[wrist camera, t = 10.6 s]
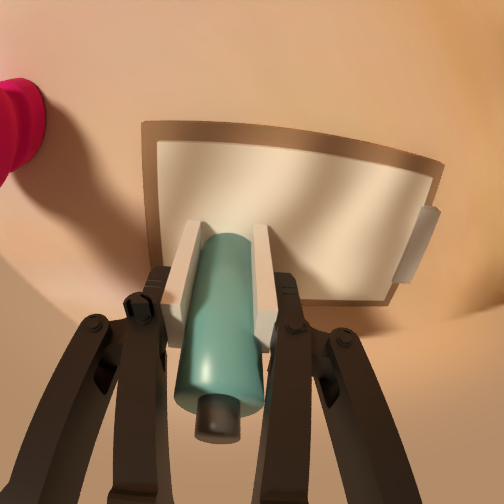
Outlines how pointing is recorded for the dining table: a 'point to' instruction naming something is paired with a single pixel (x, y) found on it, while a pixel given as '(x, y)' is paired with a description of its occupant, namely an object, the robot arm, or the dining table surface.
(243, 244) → the bottle
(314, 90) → the dining table surface
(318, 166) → the clipboard
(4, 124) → the pepper mill
